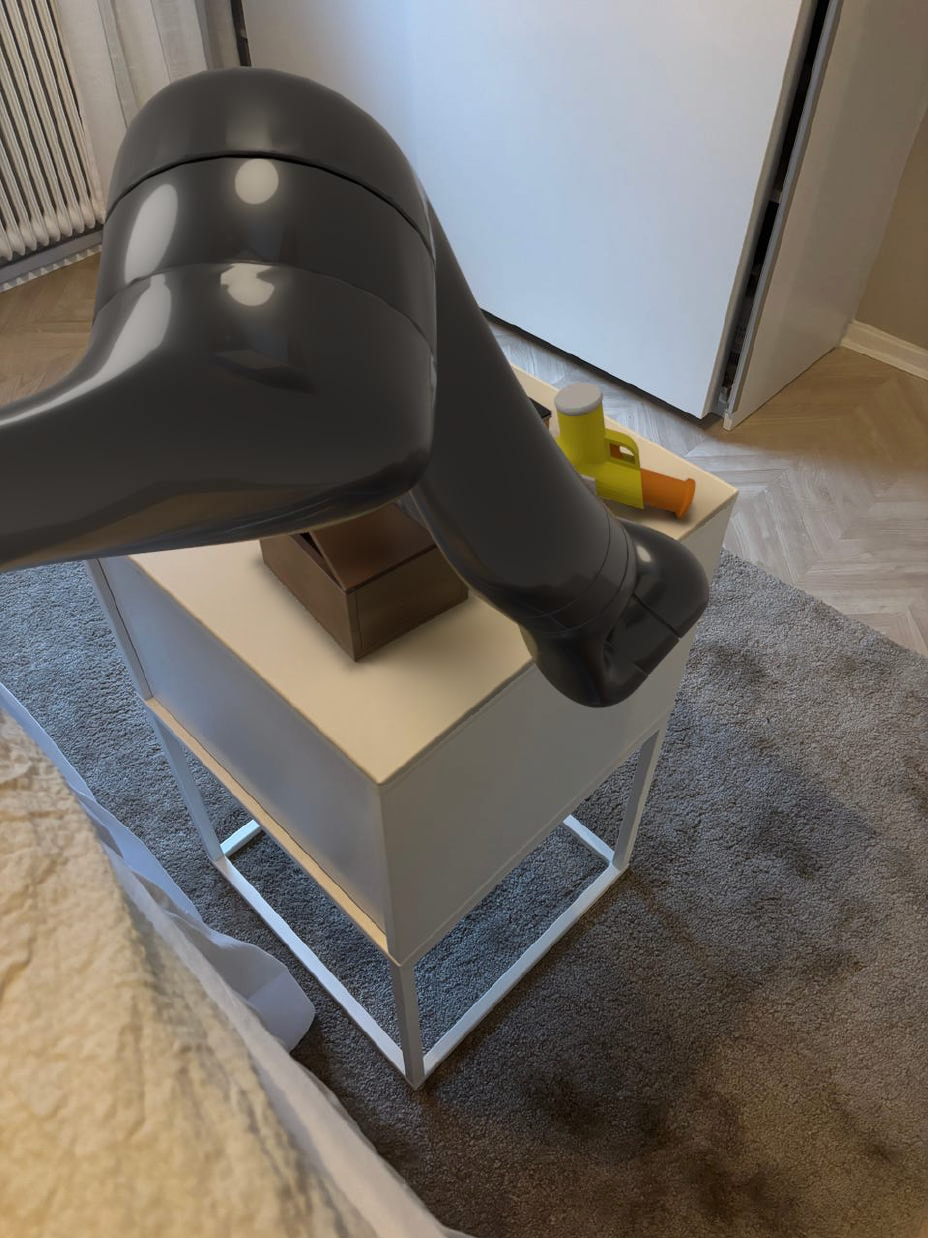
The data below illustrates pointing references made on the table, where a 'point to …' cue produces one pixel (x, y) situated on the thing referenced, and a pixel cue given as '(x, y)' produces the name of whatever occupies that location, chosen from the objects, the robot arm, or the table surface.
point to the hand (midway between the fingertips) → (301, 352)
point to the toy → (612, 455)
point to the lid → (370, 545)
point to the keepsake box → (365, 593)
